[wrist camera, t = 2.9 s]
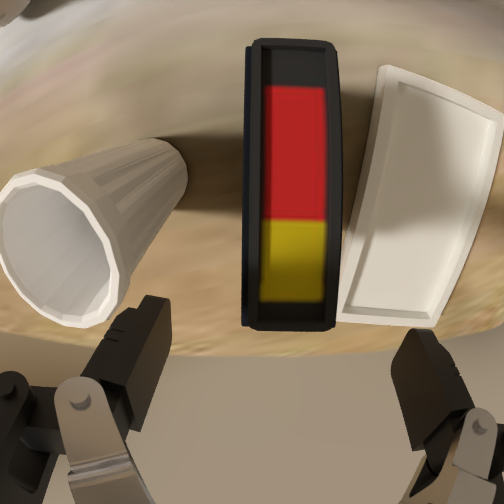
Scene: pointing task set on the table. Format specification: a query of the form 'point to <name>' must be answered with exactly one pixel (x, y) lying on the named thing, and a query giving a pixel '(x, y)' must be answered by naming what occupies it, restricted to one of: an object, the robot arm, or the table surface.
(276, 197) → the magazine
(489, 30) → the table surface
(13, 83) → the table surface
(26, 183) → the cup
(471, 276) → the table surface
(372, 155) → the cradle
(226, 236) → the table surface
